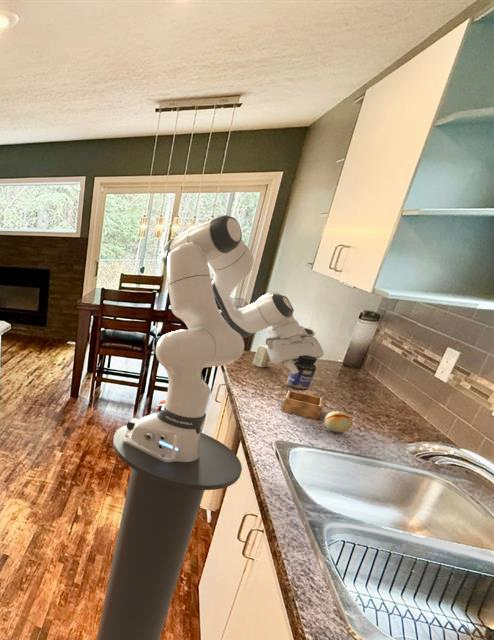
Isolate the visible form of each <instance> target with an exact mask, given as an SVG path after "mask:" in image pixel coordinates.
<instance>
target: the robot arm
mask: <svg viewBox="0 0 494 640" xmlns="http://www.w3.org/2000/svg"><path fill="white" fill-rule="evenodd" d="M242 237H243V232H242V227H241V225H240V223H239V222H238V220H237V219H236V218H235V217H233V216H231V215H227V214H224V215H220V216H217V217H214V218H213V219H211V220H209V221H206V222H204V223H201V224H198V225H197V226H195V227H191V228H189V229H188V230H186V231H184V232H182V233H181V234H179V235H178V236H176V237H172V238H171V239H170V240H169V241H168V242H166V243H165V244H164V246H163V248H162V250H161V251H162V252H161V260H162V262H163V264H164V266H165V267H166V282H167V289H168V290H167V291H168V295H169V301H170V308H171V309H170V310H171V312H172V314H173V315H174V316H175V317H176V318H178V319H179V320H181V321H182V322H183V323H184V324H185V326H186V328H187V329H178V330H175V331H171V332H167V333H165V334H163V335H161V336H160V337H159V339H158V340H157V342H156V345H155V356H156V359H157V361H158V363H159V364H160V365H161V366H162V367H164V369H165V370H166V373H167V378H168V385H167V386H168V387H167V392H166V397H165V399H162V400H161V401H159V402H158V405H157V406H156V408H155V412H154V413H150V414H148V415H145V416H142V417H141V418H136V417H133V418H131V419H130V420H128V421H127V423H126V425H127V428H128V430H127V431H126V433H125V434H124V437H123V441H124V442H125V443H126V444H129V445H131V446H133V447H135V448H137V449H139V450H141V451H143V452H145V453H147V454H149V455H151V456H153V457H155V458H157V459H160V460H162V461H164V462H168V463H169V462H192V461H195V460H197V459H198V458H199V456H200V455H199V439H200V432H201V433H202V431H203V429H204V427H205V422H206V417H207V413H206V410H207V407H208V404H209V399H210V396H211V388H210V385H208V384H207V383H206V382H205V381H204V380H202V372H203V369H205V368H212V367H222V366H225V365H228V364H232V363H234V362H236V361H238V360H239V359H240V358H241V357H242V356H243V354H244V351H245V340H244V339H247V338H249V337H250V336H252V335H254V334H256V333H258V332H260V331H263V330H265V329H266V330H267V334H268V337H267V338H266V339H265V342H264V343H265V345H267V346H266V348H267V352H268V355H269V358H270V362H271V363H272V364H275V365H276V364H284V366H285V367H286V368H287V369H289V370H290V372H292V374H298V373H300V372H301V371H300V369H299V367H296V366H295V365H294V363H295V362H298V359H299V356H304V355H307V356H312V357H315V358H316V359H317V360H318V359H320V358H323V357H324V353H325V352H324V350H323V348H322V345H321V344H320V342H319V340H318V339H317V337H315V336H316V333H315V331H314V330H313V329H310V328H308V327H304V326H302V325H300V323H299V321H298V320H297V319H295V317H294V311H295V309H294V308H293V305H292V303H291V301H290V299H289V298H288V297H287V296H286V295H282V294H281V293H280V292H278V291H274V292H273V291H272V292H267V293H265V294H263V295H261V296H260V297H258V299H256V301H255V302H253V303H251V304H248V305H246V306H245V307H242V308H236V306H235V304H234V302H233V300H232V297H231V294H232V292H233V291H234V290H235V289H236V288H237V287H238V286H239V285H240V284H241V283H242V282H243V281H245V279H247V277H248V275H250V273H251V271H252V270H253V266H254V261H255V260H254V256H253V254H252V252H251V250H250V248H249V247H248V245H247V244H246V243H245V241H243V239H242ZM209 267H210V268H209ZM210 269H211V270H212V272H213V278H212V276H211V272H210ZM218 307H219V308H218ZM219 309H220V310H219ZM314 365H315V366H316V362H315V363H314ZM317 371H318V369H317V367H316V370H315V372H317Z"/></svg>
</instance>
